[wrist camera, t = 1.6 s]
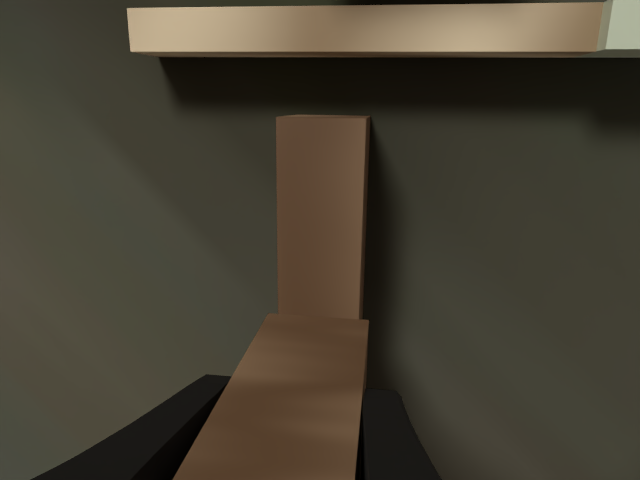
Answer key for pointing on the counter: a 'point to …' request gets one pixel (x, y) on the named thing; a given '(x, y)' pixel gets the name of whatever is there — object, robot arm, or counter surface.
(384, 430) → the robot arm
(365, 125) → the l-shaped wooden block
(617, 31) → the tray
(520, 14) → the slot rails
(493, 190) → the counter surface
